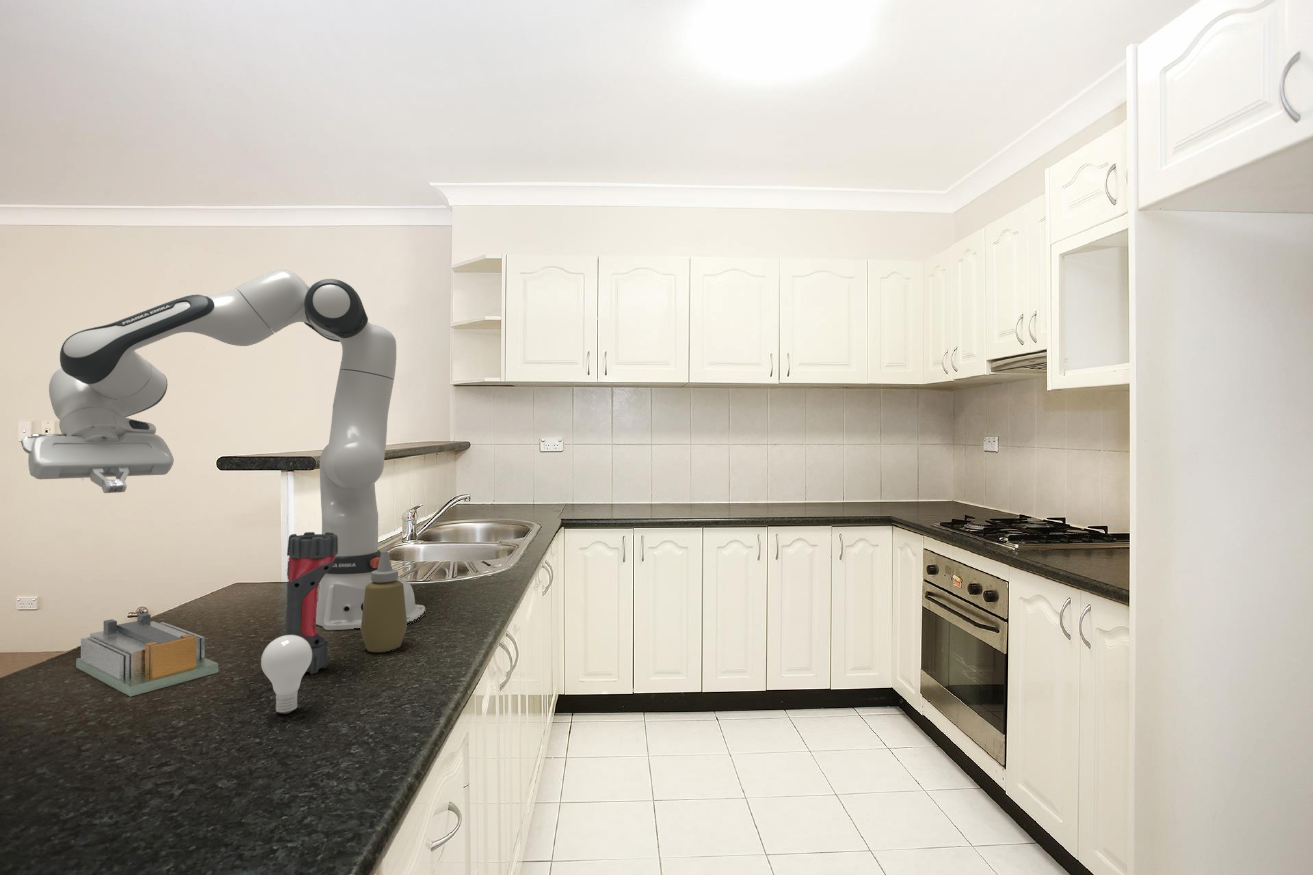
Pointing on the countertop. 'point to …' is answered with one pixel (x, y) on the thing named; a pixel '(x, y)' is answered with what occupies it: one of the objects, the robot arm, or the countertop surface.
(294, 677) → the lightbulb
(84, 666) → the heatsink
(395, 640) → the squeeze bottle
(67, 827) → the countertop surface
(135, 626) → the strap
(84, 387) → the robot arm
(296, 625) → the flashlight
